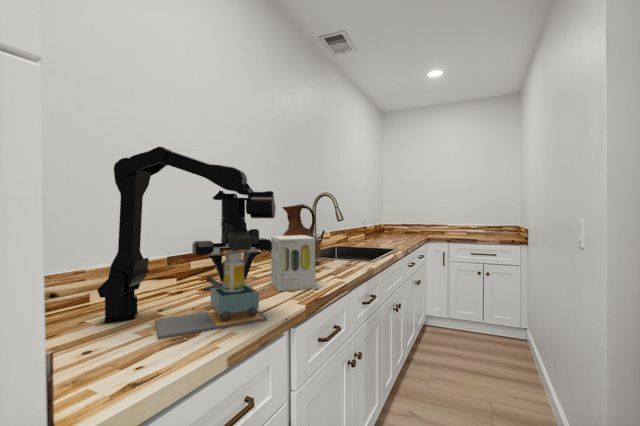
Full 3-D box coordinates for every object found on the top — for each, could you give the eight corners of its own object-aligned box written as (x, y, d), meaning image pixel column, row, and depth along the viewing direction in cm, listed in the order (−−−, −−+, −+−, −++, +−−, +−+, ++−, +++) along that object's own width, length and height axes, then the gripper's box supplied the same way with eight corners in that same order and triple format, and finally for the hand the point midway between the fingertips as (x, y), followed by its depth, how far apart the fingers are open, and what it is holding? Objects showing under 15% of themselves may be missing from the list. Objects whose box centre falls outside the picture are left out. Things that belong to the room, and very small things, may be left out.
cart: (218, 322, 76) (218, 297, 76) (210, 311, 84) (210, 288, 84) (258, 315, 80) (258, 292, 80) (247, 305, 89) (247, 284, 89)
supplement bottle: (220, 293, 79) (220, 253, 79) (224, 288, 85) (224, 251, 85) (242, 292, 80) (242, 253, 80) (245, 287, 85) (245, 250, 85)
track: (158, 339, 69) (158, 335, 69) (155, 322, 79) (155, 319, 79) (267, 320, 80) (267, 317, 80) (252, 307, 91) (252, 304, 91)
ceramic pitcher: (279, 261, 171) (279, 204, 170) (318, 260, 173) (317, 204, 173) (279, 268, 151) (278, 203, 151) (322, 267, 153) (322, 203, 153)
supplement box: (278, 291, 108) (277, 238, 108) (270, 283, 121) (270, 235, 120) (316, 288, 112) (316, 237, 112) (305, 280, 125) (305, 234, 125)
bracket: (225, 279, 130) (225, 272, 130) (244, 286, 119) (244, 278, 119) (188, 286, 120) (188, 278, 120) (205, 293, 109) (205, 285, 109)
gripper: (199, 219, 71) (199, 291, 71) (280, 218, 80) (280, 282, 80) (192, 218, 80) (192, 281, 80) (264, 217, 89) (264, 274, 89)
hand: (233, 280), depth 82 cm, fingers closed on supplement bottle, 5 cm apart
